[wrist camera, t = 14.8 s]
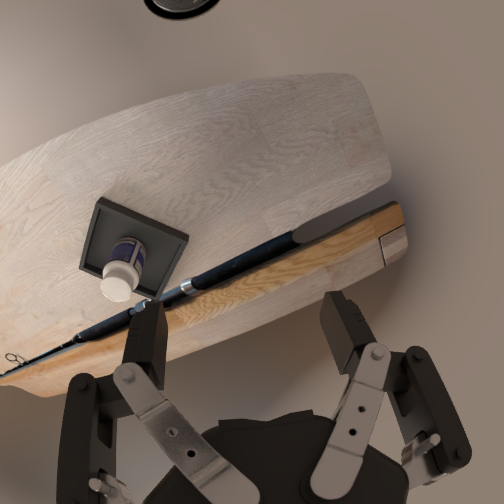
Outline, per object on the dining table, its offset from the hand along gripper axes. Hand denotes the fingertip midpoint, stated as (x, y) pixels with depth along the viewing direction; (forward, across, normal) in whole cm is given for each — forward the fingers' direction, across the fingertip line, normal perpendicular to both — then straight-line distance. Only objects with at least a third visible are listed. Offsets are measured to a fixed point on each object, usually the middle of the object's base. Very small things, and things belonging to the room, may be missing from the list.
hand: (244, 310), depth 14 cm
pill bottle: (+30, +16, +15) cm, 37 cm away
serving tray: (+30, +16, +15) cm, 37 cm away
